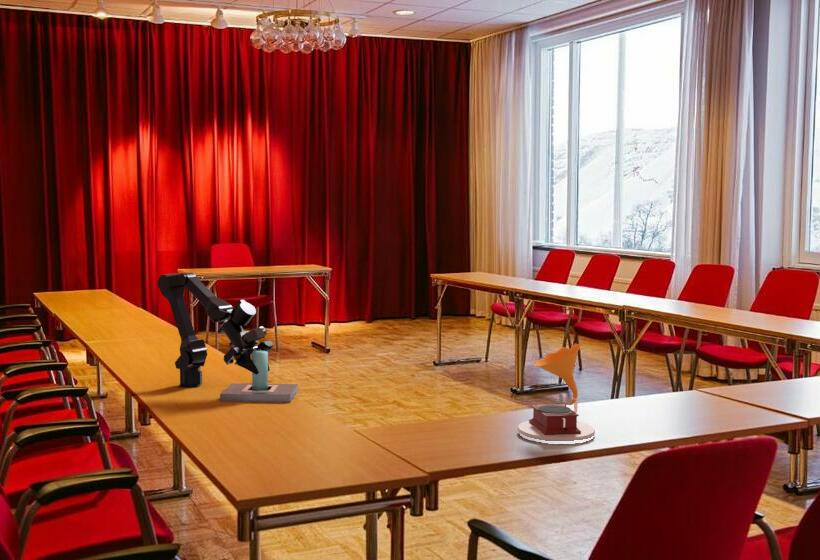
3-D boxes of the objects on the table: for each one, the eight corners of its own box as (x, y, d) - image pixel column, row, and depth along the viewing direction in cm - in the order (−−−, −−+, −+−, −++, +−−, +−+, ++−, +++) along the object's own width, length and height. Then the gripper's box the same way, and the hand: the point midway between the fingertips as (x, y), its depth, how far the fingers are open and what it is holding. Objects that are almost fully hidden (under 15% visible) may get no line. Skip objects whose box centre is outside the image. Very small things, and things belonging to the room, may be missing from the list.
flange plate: (220, 401, 282) (220, 393, 282) (231, 390, 298) (231, 382, 298) (290, 402, 282) (290, 393, 281) (298, 391, 298) (298, 383, 297)
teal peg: (249, 392, 289) (248, 352, 288) (259, 389, 293) (259, 350, 292) (260, 394, 286) (260, 353, 285) (271, 391, 291) (271, 351, 290)
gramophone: (578, 424, 256) (580, 336, 254) (606, 443, 236) (608, 348, 234) (508, 427, 253) (510, 338, 250) (531, 446, 233) (532, 350, 230)
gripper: (229, 322, 282) (257, 360, 277) (269, 315, 298) (295, 352, 293) (211, 345, 287) (238, 383, 282) (251, 337, 303) (277, 373, 298)
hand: (263, 372), depth 289 cm, fingers closed on teal peg, 5 cm apart
